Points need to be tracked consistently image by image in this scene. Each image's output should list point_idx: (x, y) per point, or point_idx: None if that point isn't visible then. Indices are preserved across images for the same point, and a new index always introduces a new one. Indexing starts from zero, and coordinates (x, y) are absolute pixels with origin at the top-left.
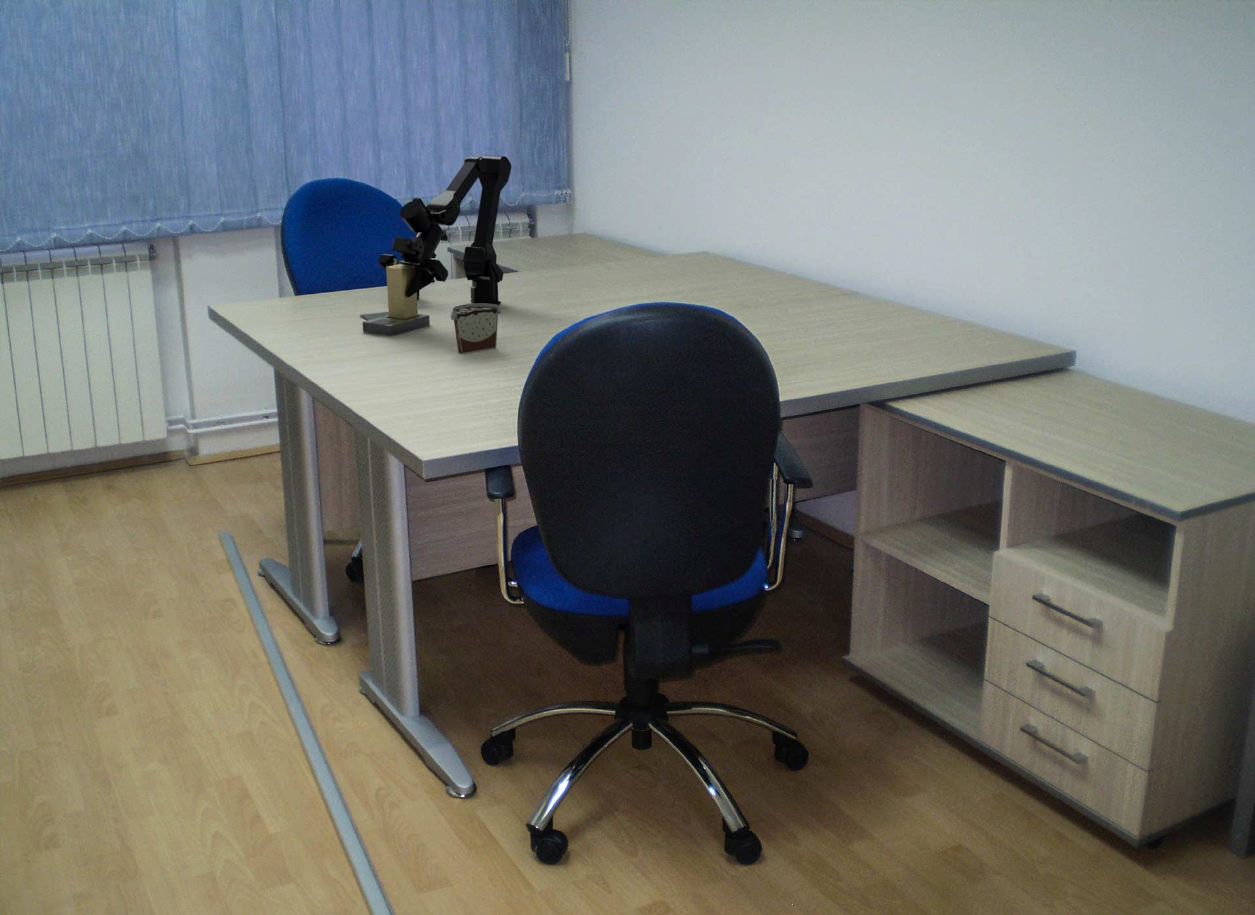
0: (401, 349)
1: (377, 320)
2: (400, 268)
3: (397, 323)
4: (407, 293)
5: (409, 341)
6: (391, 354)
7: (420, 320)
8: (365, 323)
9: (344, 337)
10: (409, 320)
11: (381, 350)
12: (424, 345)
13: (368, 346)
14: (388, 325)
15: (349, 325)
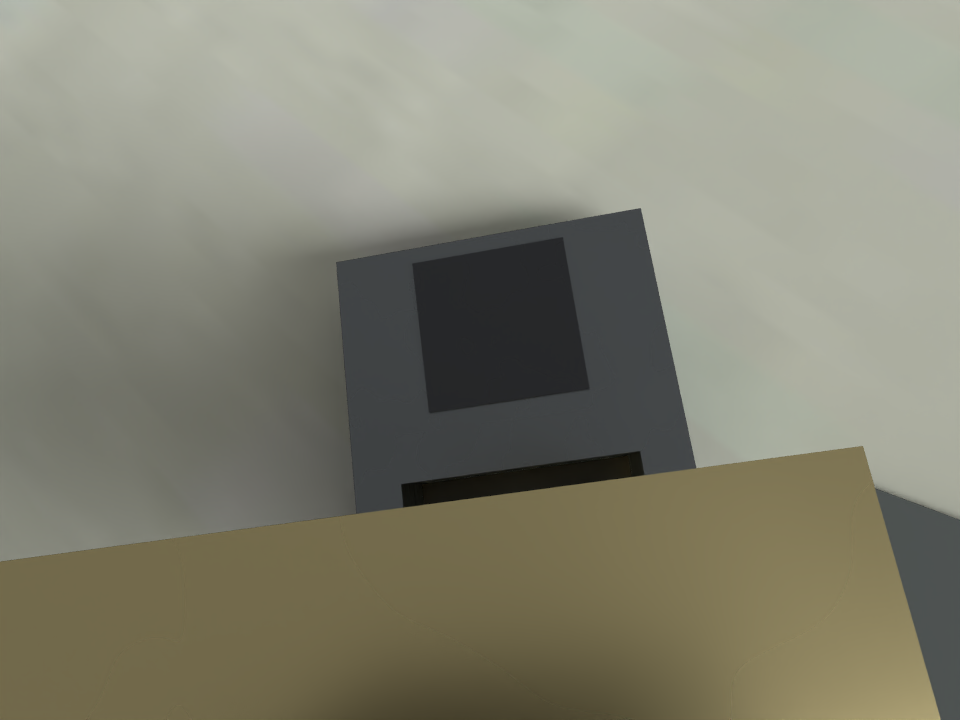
0: (76, 124)
1: (572, 312)
2: (48, 639)
3: (361, 359)
4: None
5: (165, 278)
6: (51, 28)
7: None
8: (605, 219)
9: (589, 71)
10: (364, 508)
11: (153, 40)
12: (24, 271)
13: (279, 43)
14: (363, 263)
15: (925, 316)
